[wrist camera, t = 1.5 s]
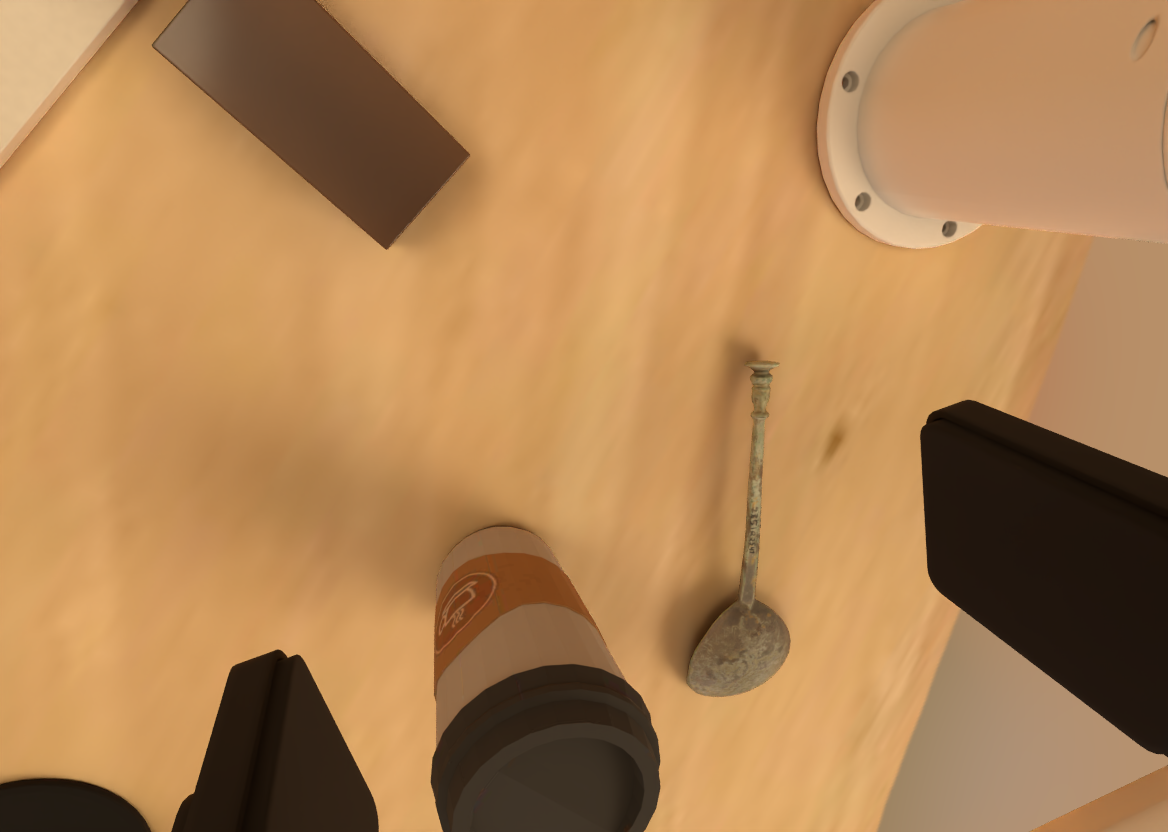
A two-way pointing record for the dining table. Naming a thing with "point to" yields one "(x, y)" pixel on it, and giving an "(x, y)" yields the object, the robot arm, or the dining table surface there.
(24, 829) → the wine glass
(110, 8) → the board
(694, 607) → the dining table surface
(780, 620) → the soupspoon
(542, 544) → the coffee cup
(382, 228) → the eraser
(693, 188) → the dining table surface
